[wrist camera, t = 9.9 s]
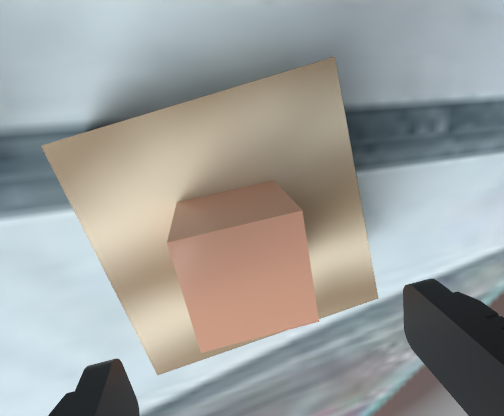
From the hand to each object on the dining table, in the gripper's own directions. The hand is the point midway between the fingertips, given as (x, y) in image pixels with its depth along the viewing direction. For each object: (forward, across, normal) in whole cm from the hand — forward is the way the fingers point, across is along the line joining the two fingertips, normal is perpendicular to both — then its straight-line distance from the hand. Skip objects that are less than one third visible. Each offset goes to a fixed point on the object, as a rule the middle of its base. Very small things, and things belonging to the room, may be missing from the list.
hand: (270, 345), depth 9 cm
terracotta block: (+9, 0, 0) cm, 9 cm away
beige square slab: (+15, 0, 0) cm, 15 cm away
